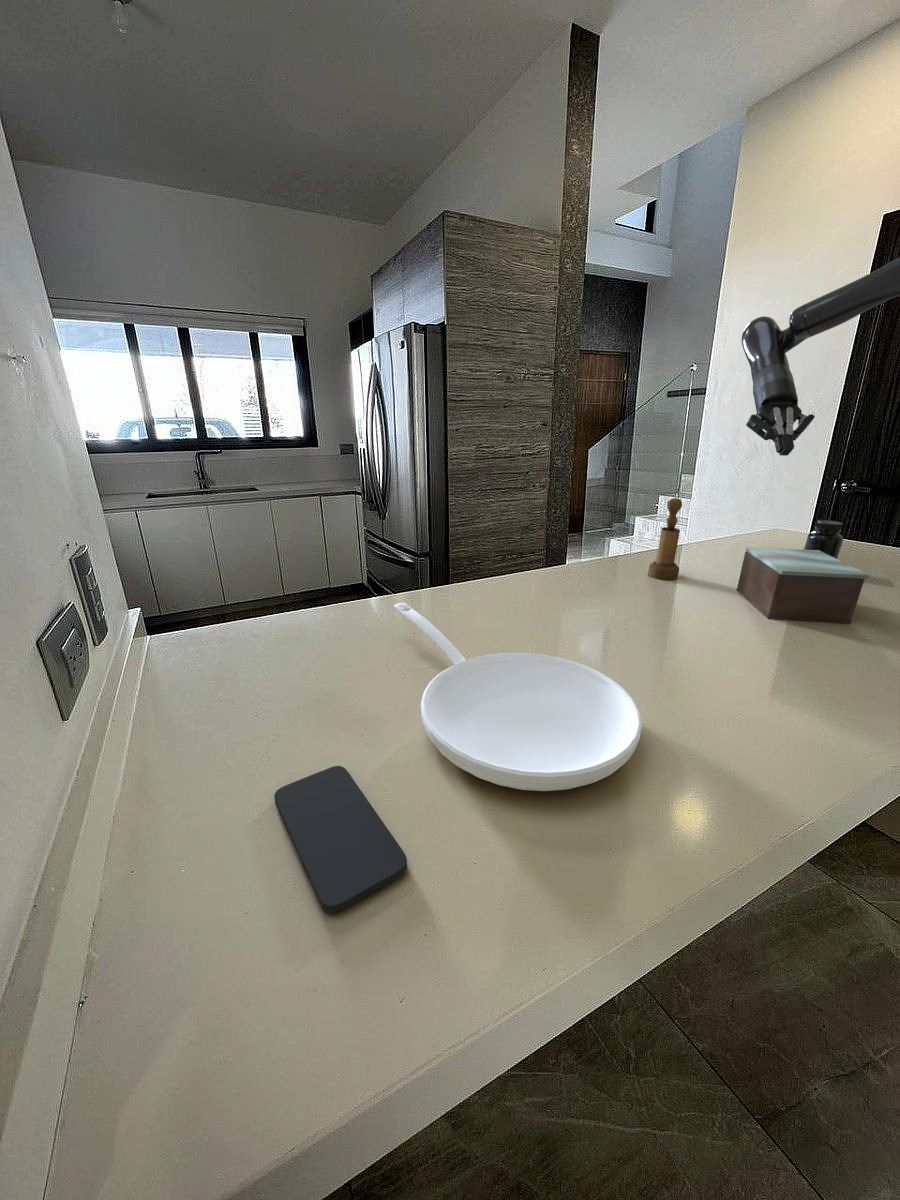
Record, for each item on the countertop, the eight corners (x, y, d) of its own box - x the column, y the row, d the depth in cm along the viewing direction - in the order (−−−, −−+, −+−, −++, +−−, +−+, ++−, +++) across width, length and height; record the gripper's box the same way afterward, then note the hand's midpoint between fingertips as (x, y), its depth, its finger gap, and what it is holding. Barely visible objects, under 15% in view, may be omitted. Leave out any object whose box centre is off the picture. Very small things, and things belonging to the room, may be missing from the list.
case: (850, 623, 86) (865, 577, 83) (767, 618, 88) (779, 573, 85) (806, 594, 100) (817, 553, 97) (736, 590, 103) (745, 550, 100)
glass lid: (868, 578, 82) (869, 574, 82) (781, 574, 85) (782, 570, 84) (818, 553, 97) (819, 550, 97) (745, 550, 100) (746, 547, 99)
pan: (517, 853, 41) (521, 794, 39) (329, 656, 75) (325, 619, 73) (684, 746, 54) (694, 698, 52) (460, 620, 88) (460, 588, 86)
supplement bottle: (798, 572, 115) (811, 522, 110) (798, 565, 120) (811, 517, 116) (833, 577, 111) (849, 526, 107) (832, 570, 116) (847, 521, 112)
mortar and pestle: (671, 581, 108) (685, 501, 102) (643, 576, 112) (655, 498, 106) (681, 575, 113) (695, 498, 106) (654, 569, 117) (666, 495, 110)
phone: (342, 762, 51) (413, 863, 39) (343, 768, 51) (413, 871, 39) (270, 791, 47) (325, 912, 35) (271, 797, 47) (326, 920, 35)
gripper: (748, 377, 104) (759, 439, 97) (816, 376, 101) (832, 440, 95) (734, 404, 110) (743, 464, 104) (797, 404, 108) (811, 465, 101)
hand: (786, 452), depth 99 cm, fingers closed
